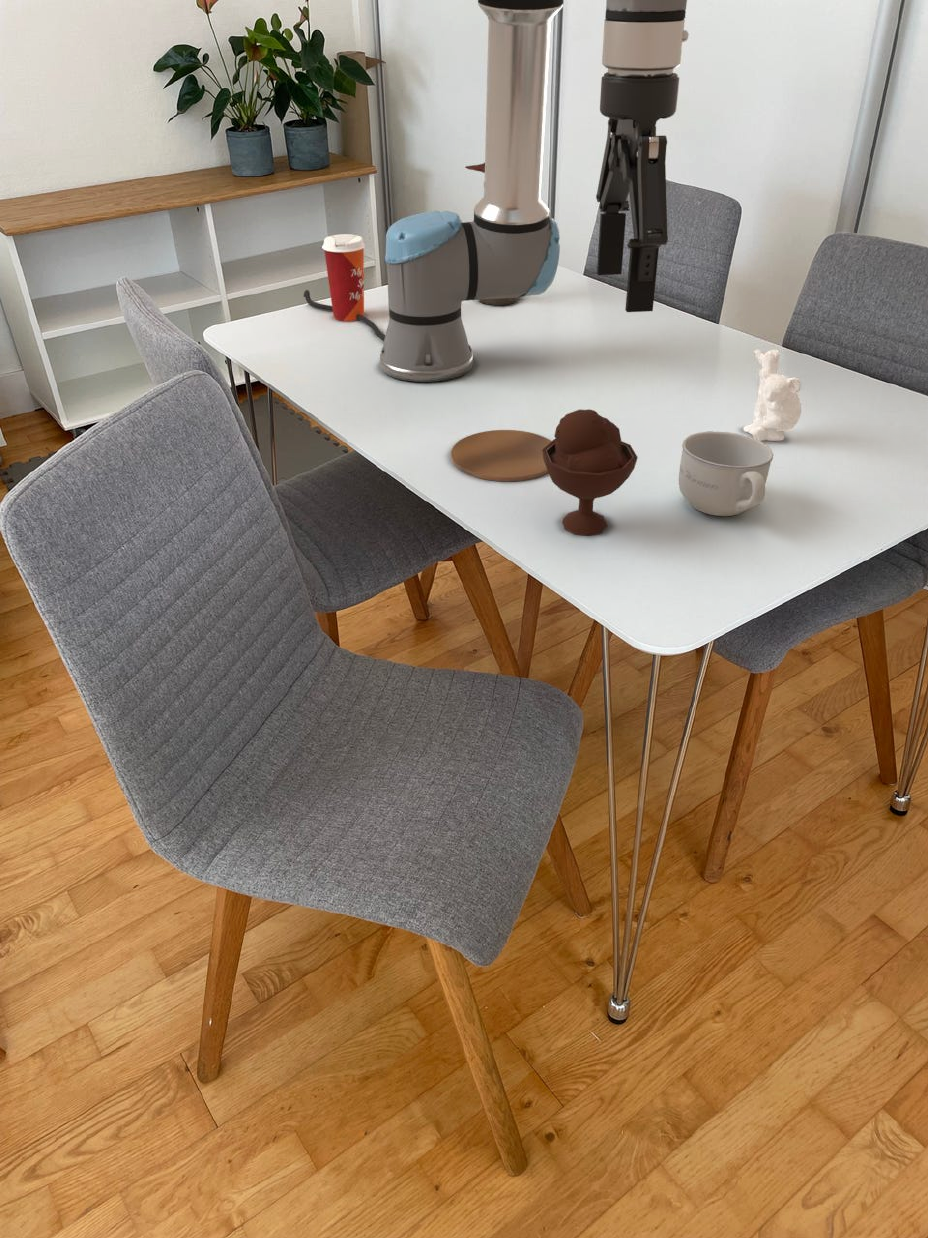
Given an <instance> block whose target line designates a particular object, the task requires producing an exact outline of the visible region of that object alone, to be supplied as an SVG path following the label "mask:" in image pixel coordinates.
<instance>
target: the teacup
mask: <svg viewBox="0 0 928 1238" xmlns="http://www.w3.org/2000/svg"><path fill="white" fill-rule="evenodd" d="M681 447H682V449H681V457H680V462H679V470H678V488H679V491H680V493H681V495H682V497H684V499H685V500H686V501H687V502H689V504H690V505H691V506H692V507H693V508H694V509H696V510H698V511H699V512H701V513H704V514H707V515H709V516H710V515H711V516H715V517H731V516H736V515H739V514H741V513H743V512H745V511H746V510H747V511H748V510H749V509H751V508H754V507H757V506H759V505H760V504H761V503H762V501H763V500H764V498H765V495H766V484H767V480H768V476H769V472H770V467H771V463H772V461H773V460H774V453H773V449H771V448H770V446H768V445H767V444H766V443H764V442H763V441H759V440H756V439H754V438H753V437H751V436H748V435H745V434H741V433H736V432H729V431H713V430H712V431H710V430H708V431H701V432H697V433H696V432H695V433H692V434H690V435H688V436H687V437H685V439H683V441H682V446H681Z"/></svg>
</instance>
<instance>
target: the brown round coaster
mask: <svg viewBox="0 0 928 1238" xmlns="http://www.w3.org/2000/svg"><path fill="white" fill-rule="evenodd" d="M552 441H553V440H551V439H549V438H547V437H545V436H543V435H540V434H537V433H533V432H529V431H523V430H515V429H495V430H494V429H493V430H487V431H481V432H480V431H479V432H476V433H473V434H471V435H467V436H465V437H463V438H461V439H460V440H458V441H457V442H456V443H455V444H454V445H453V446H452V448H451V451H450V459H451V461H452V464H453V465H454V466H455V467H456V469H458V470H459V471H460V472H463V473H464V474H466V475H468V476H471V477H474V478H478V479H481V480H487V481H494V482H521V481H528V480H532V479H536V478H539V477H542V476H544V475H546V474H549V473H548V470H547V468H546V465H545V463H544V459H543V453H542V449H543V448H545V447H546V446H547V445H548V444H549V443H550V442H552Z"/></svg>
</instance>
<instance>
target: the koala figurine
mask: <svg viewBox="0 0 928 1238" xmlns="http://www.w3.org/2000/svg"><path fill="white" fill-rule="evenodd" d="M753 354H754V356H755V358H756V359H757V361H758V363H759V365H761V368H760V369H759V373H758V378H759V384H758V386H759V388H758V391H757V394H758V396H757V400H756V404H755V408H754V414H753V421H752V423H750V424H747V425H745V426H744V427H743V429H742V430H743V432H746V433H749V434H750V435H752V438H754V439H756V440H759V441H761V442H763V441H769V442H776V441H777V442H778V441H781V442H782V441H783V440H784V439H785V436H784V434H783V433H781V432H785V431H789V430H792V429H793V428H794V427H795V426H796V425H797V424H798V422H799V420H800V418H801V414H802V403H801V400H800V397H799V394H798V393H799V392H800V391H801V388H802V381H801V379H800V378H797V377H789V376H787V375H785V374H782V373H781V374H780V373H778V369H779V363H780V362H779V361H780V351H779V350H778V349H770V350H767V351H766V352H763V351H762V350H761V349H760V348H757V349H755V350H754V353H753Z"/></svg>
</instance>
